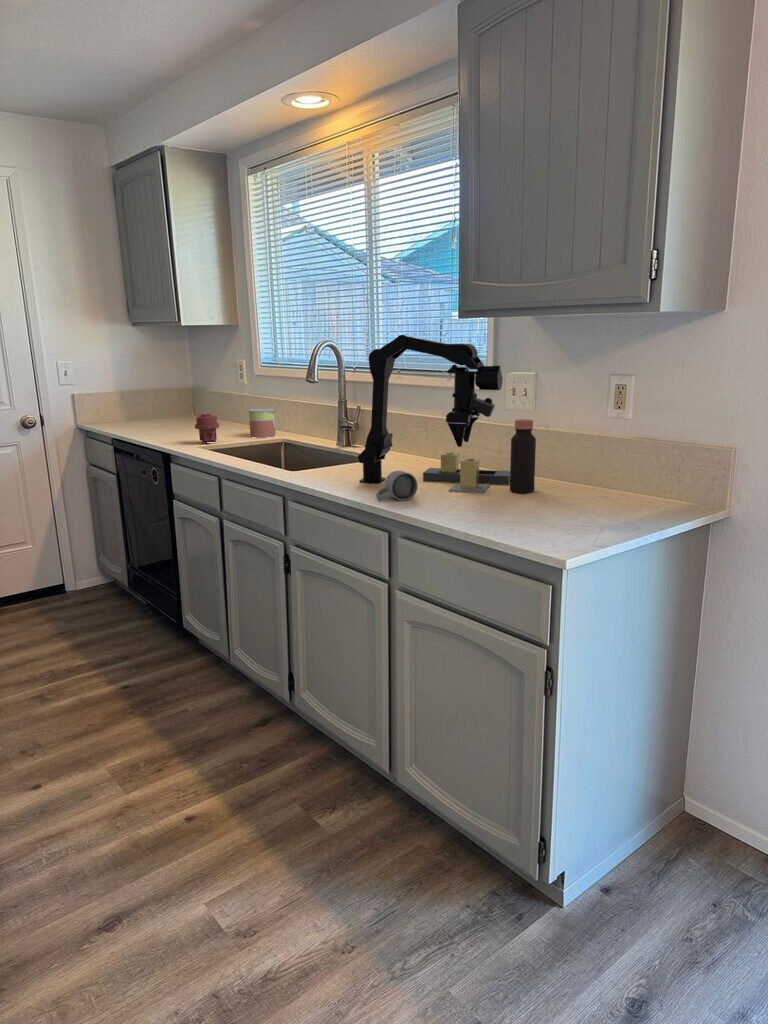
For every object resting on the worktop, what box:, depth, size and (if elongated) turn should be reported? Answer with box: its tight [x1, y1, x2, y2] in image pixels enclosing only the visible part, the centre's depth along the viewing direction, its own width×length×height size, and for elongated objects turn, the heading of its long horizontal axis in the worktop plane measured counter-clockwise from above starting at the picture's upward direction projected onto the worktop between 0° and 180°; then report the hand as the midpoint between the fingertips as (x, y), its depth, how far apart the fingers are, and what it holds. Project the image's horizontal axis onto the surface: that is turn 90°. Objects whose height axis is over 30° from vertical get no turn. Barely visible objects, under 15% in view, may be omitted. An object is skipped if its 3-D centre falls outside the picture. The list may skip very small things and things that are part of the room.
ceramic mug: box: [375, 470, 419, 501], centre depth 194 cm, size 11×8×8 cm
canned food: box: [248, 407, 277, 439], centre depth 317 cm, size 11×11×12 cm
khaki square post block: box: [440, 451, 460, 473], centre depth 217 cm, size 5×5×8 cm
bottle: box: [509, 419, 537, 494], centre depth 198 cm, size 7×7×20 cm
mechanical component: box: [194, 413, 220, 444], centre depth 300 cm, size 12×10×10 cm
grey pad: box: [448, 482, 491, 494], centre depth 205 cm, size 10×10×1 cm
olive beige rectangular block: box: [459, 457, 480, 489], centre depth 204 cm, size 5×5×8 cm
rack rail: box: [422, 467, 510, 485], centre depth 216 cm, size 8×26×2 cm, turn 72°
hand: (463, 444), depth 204 cm, fingers open, 9 cm apart
